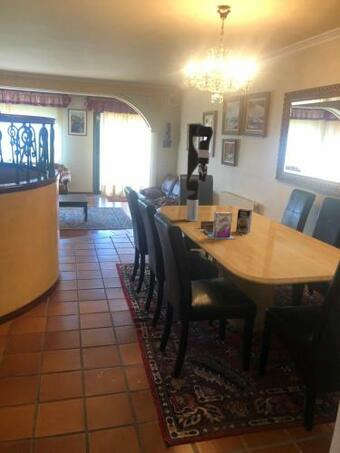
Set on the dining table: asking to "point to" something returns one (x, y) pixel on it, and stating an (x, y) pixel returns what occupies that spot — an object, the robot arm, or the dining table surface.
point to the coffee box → (244, 220)
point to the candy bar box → (222, 224)
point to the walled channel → (207, 225)
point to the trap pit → (208, 231)
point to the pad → (221, 237)
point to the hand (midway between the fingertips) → (201, 180)
